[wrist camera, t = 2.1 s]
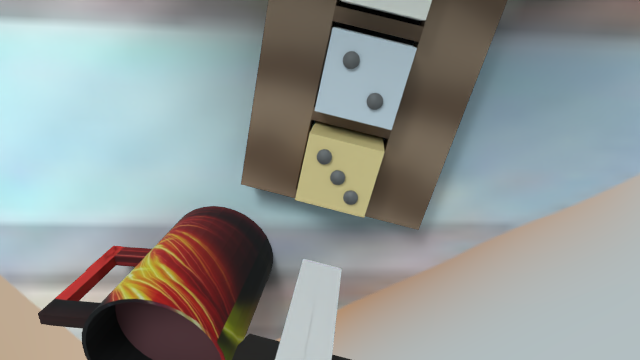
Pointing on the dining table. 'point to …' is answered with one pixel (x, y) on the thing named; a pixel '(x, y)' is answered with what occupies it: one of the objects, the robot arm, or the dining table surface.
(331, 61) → the two-dot tile
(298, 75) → the board
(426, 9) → the tile
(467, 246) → the dining table surface
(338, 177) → the tile
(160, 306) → the mug
